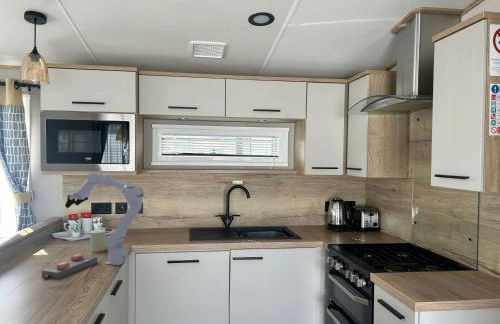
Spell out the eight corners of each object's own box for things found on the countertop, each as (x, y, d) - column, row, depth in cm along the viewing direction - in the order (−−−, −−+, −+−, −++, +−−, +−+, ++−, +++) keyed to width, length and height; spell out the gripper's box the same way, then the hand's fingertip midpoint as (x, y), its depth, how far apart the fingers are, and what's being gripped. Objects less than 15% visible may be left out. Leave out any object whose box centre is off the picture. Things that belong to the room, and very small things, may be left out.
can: (88, 252, 209) (88, 232, 209) (91, 248, 218) (91, 229, 218) (104, 251, 212) (104, 231, 212) (107, 247, 221) (106, 228, 220)
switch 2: (83, 257, 187) (83, 253, 187) (75, 260, 183) (75, 256, 183) (78, 257, 188) (78, 253, 188) (71, 259, 184) (71, 255, 184)
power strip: (97, 262, 189) (97, 257, 189) (52, 281, 162) (52, 274, 162) (83, 260, 192) (82, 255, 192) (36, 278, 165) (36, 272, 165)
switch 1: (69, 265, 174) (69, 261, 174) (61, 268, 169) (61, 264, 169) (64, 265, 175) (64, 261, 175) (56, 268, 170) (56, 264, 170)
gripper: (89, 182, 200) (75, 198, 203) (71, 185, 186) (57, 202, 189) (97, 191, 200) (83, 207, 202) (80, 195, 185) (65, 212, 188)
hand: (71, 205), depth 195 cm, fingers open, 7 cm apart
